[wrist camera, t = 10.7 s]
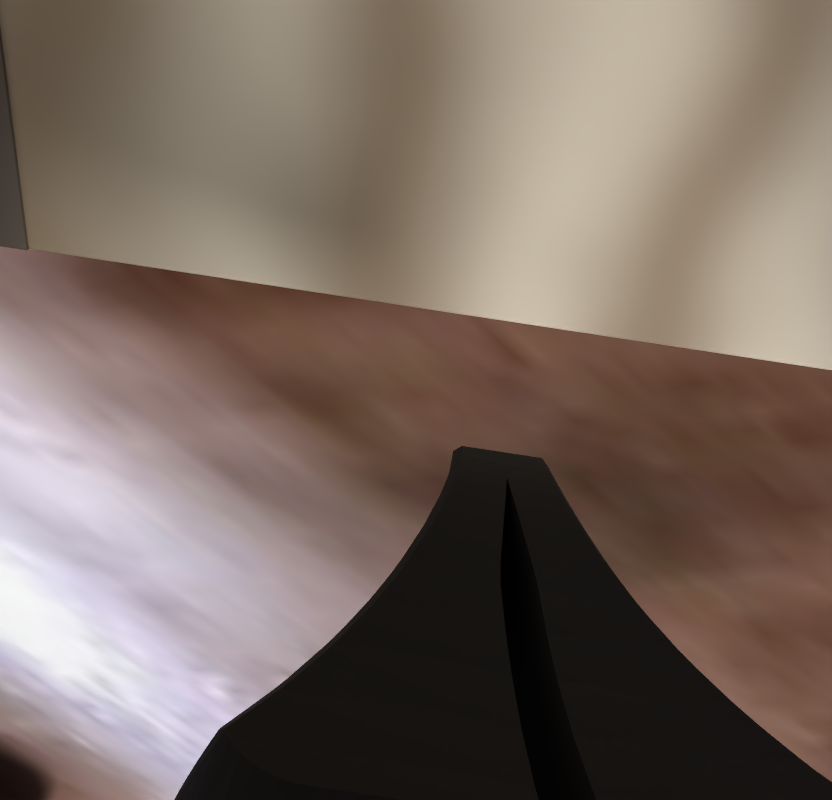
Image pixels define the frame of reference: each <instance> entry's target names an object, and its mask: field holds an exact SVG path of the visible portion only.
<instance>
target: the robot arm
mask: <svg viewBox="0 0 832 800" xmlns="http://www.w3.org/2000/svg"><path fill="white" fill-rule="evenodd" d="M175 800H832V782H831V781H829V780H828V779H826V778H825V777H824V776H822V775H821V774H819V773H818V772H817V771H815V770H814V769H813V768H811V767H810V766H809V765H807V764H806V763H805V762H803V761H802V760H801V759H800V758H798V757H797V756H796V755H795V754H794V753H792V752H791V751H790V750H789V749H787V748H786V747H785V746H784V745H782V744H781V743H780V742H779V741H777V740H776V739H775V738H774V737H773V736H771V735H770V734H769V733H768V732H766V731H765V730H764V729H763V728H761V727H760V726H759V725H758V724H757V723H756V722H754V721H753V720H752V719H751V718H750V717H749V716H748V715H746V714H745V713H744V712H743V711H742V710H741V709H739V708H738V707H737V706H736V705H735V704H734V703H733V702H732V701H730V700H729V699H728V698H727V697H726V696H725V695H724V694H723V693H722V692H721V691H720V690H719V689H718V688H717V687H716V686H715V685H714V684H712V683H711V682H710V681H709V680H708V679H707V678H706V677H705V676H704V675H703V674H702V673H701V672H700V671H699V670H698V669H697V668H696V667H695V666H694V665H693V664H692V663H691V662H690V661H689V660H688V659H687V658H686V657H685V656H684V655H683V654H682V653H681V652H680V651H679V650H678V649H677V648H676V647H675V646H674V645H673V644H672V642H671V641H670V640H669V639H668V638H667V637H666V636H665V635H664V634H663V632H662V631H661V630H660V629H659V628H658V627H657V626H656V625H655V624H654V623H653V621H652V620H651V619H650V618H649V617H648V616H647V615H646V613H645V612H644V611H643V610H642V609H641V607H640V606H639V605H638V604H637V603H636V601H635V600H634V599H633V598H632V596H631V595H630V594H629V592H628V591H627V590H626V588H625V587H624V586H623V584H622V583H621V582H620V580H619V579H618V578H617V576H616V575H615V574H614V572H613V571H612V570H611V568H610V567H609V565H608V564H607V562H606V561H605V560H604V558H603V557H602V555H601V554H600V552H599V551H598V549H597V548H596V546H595V545H594V543H593V542H592V540H591V539H590V537H589V536H588V534H587V533H586V531H585V529H584V528H583V526H582V525H581V523H580V521H579V520H578V518H577V517H576V515H575V513H574V512H573V510H572V508H571V507H570V505H569V503H568V502H567V500H566V498H565V496H564V495H563V493H562V491H561V489H560V488H559V486H558V484H557V482H556V480H555V479H554V477H553V475H552V473H551V471H550V470H549V468H548V466H547V465H546V463H545V462H544V460H543V459H542V458H538V457H531V456H524V455H518V454H511V453H504V452H498V451H491V450H485V449H478V448H471V447H465V446H461V447H460V448H458V449H456V450H455V451H453V455H452V461H451V466H450V471H449V475H448V478H447V481H446V483H445V485H444V487H443V490H442V492H441V494H440V496H439V498H438V500H437V502H436V504H435V506H434V508H433V509H432V511H431V513H430V515H429V517H428V519H427V521H426V522H425V524H424V526H423V528H422V529H421V531H420V532H419V534H418V535H417V537H416V538H415V540H414V541H413V543H412V544H411V546H410V547H409V549H408V550H407V552H406V553H405V555H404V556H403V558H402V559H401V561H400V562H399V563H398V565H397V566H396V567H395V569H394V570H393V572H392V573H391V574H390V575H389V577H388V578H387V579H386V581H385V582H384V583H383V584H382V585H381V587H380V588H379V589H378V590H377V591H376V593H375V594H374V595H373V596H372V597H371V599H370V600H369V601H368V602H367V603H366V604H365V605H364V606H363V607H362V609H361V610H360V611H359V612H358V613H357V614H356V615H355V616H354V617H353V618H352V619H351V620H350V621H349V623H348V624H347V625H346V626H345V627H344V628H343V629H342V630H341V631H340V632H339V633H338V634H337V635H336V636H335V637H334V638H333V639H332V640H331V641H330V642H329V643H327V644H326V645H325V646H324V647H323V648H322V649H321V650H320V651H318V652H317V653H316V654H315V655H314V656H313V657H312V658H310V659H309V660H308V661H307V662H306V663H305V664H304V665H302V666H301V667H300V668H299V669H298V670H297V671H296V672H294V673H293V674H292V675H291V676H290V677H289V678H288V679H286V680H285V681H284V682H283V683H281V684H280V685H279V686H278V687H276V688H275V689H274V690H272V691H271V692H270V693H268V694H267V695H266V696H264V697H263V698H261V699H260V700H259V701H257V702H256V703H255V704H253V705H252V706H250V707H249V708H248V709H246V710H245V711H243V712H242V713H241V714H239V715H238V716H237V717H235V718H234V719H232V720H231V721H230V722H228V723H227V724H225V725H224V726H223V727H221V728H220V729H219V730H218V732H217V733H216V735H215V736H214V737H213V739H212V740H211V742H210V743H209V745H208V746H207V748H206V749H205V751H204V752H203V754H202V755H201V757H200V758H199V760H198V761H197V763H196V764H195V766H194V767H193V769H192V771H191V772H190V774H189V775H188V777H187V779H186V780H185V782H184V784H183V785H182V787H181V789H180V790H179V792H178V794H177V796H176V798H175Z"/></svg>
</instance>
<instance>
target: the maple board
mask: <svg viewBox="0 0 832 800" xmlns="http://www.w3.org/2000/svg"><path fill="white" fill-rule="evenodd" d="M0 246H3V247H9V248H16V249H22V250H28V249H34V250H41V251H48V252H54V253H61V254H68V255H74V256H81V257H87V258H94V259H101V260H107V261H114V262H120V263H127V264H134V265H140V266H147V267H153V268H160V269H167V270H173V271H180V272H186V273H193V274H200V275H206V276H213V277H220V278H226V279H233V280H239V281H246V282H253V283H259V284H266V285H272V286H279V287H286V288H292V289H299V290H305V291H312V292H319V293H325V294H332V295H339V296H345V297H352V298H358V299H365V300H372V301H378V302H385V303H391V304H398V305H405V306H411V307H418V308H424V309H431V310H438V311H444V312H451V313H458V314H464V315H471V316H477V317H484V318H491V319H497V320H504V321H510V322H517V323H524V324H530V325H537V326H543V327H550V328H557V329H563V330H570V331H576V332H583V333H590V334H596V335H603V336H610V337H616V338H623V339H629V340H636V341H643V342H649V343H656V344H662V345H669V346H676V347H682V348H689V349H695V350H702V351H709V352H715V353H722V354H729V355H735V356H742V357H748V358H755V359H762V360H768V361H775V362H781V363H788V364H795V365H801V366H808V367H814V368H821V369H828V370H832V0H0Z"/></svg>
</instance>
